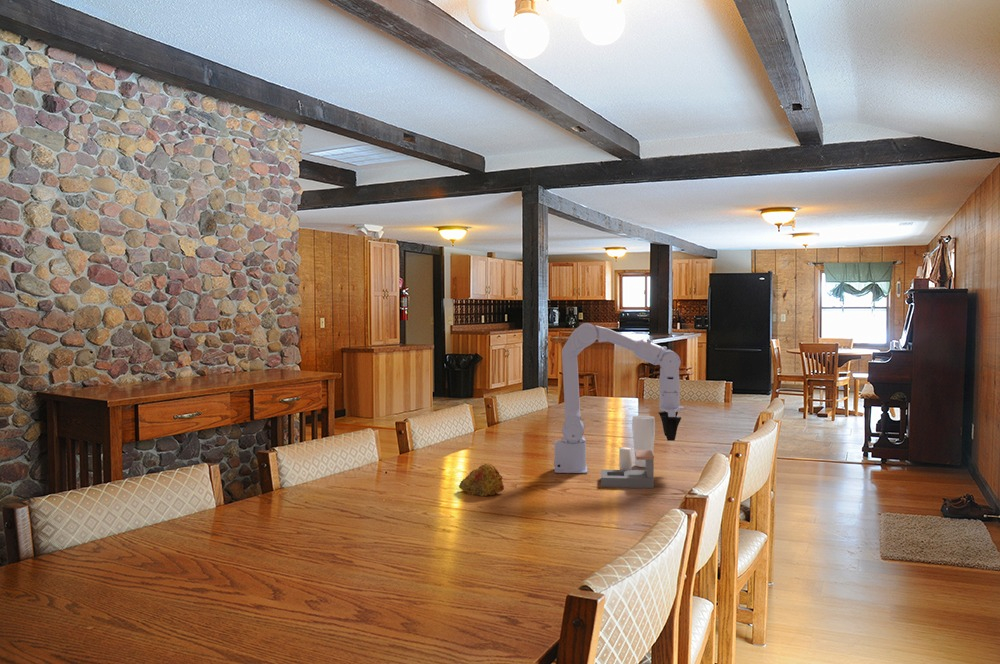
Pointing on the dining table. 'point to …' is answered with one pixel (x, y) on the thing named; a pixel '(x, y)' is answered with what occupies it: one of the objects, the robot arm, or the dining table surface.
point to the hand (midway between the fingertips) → (669, 438)
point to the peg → (625, 458)
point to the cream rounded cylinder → (643, 435)
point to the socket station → (631, 474)
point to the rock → (483, 481)
